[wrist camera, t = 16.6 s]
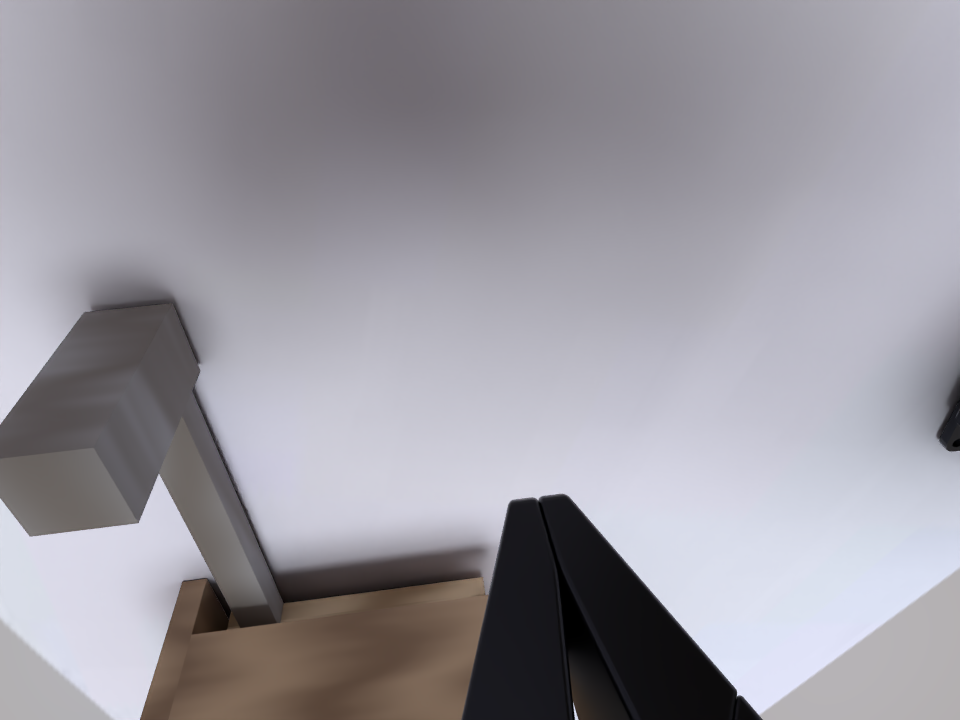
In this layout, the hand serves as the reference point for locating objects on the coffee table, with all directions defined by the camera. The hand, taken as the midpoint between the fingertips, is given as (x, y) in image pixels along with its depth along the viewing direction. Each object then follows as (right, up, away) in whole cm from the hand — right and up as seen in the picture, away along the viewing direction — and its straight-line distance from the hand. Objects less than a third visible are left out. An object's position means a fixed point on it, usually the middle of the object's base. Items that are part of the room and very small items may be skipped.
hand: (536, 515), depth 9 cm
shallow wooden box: (-6, -7, +17) cm, 20 cm away
